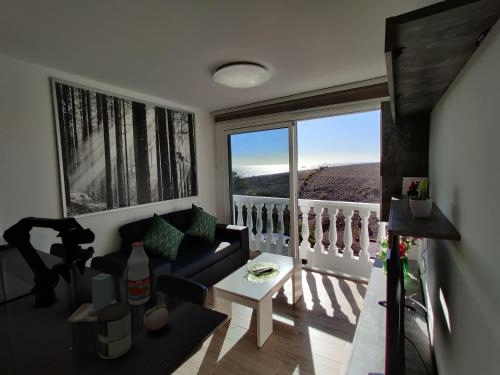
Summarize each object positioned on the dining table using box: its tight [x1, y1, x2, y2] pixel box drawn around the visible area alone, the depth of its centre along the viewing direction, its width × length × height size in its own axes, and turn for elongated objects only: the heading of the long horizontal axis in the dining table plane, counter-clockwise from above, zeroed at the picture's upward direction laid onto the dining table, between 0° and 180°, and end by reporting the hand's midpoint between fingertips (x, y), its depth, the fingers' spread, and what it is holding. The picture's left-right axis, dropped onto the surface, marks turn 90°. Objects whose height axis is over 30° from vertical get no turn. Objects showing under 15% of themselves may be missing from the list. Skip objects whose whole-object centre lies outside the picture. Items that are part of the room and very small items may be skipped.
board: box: [66, 299, 119, 323], centre depth 109 cm, size 16×12×4 cm
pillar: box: [91, 273, 113, 309], centre depth 108 cm, size 5×5×14 cm
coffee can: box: [97, 302, 132, 360], centre depth 88 cm, size 10×10×14 cm
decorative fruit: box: [143, 304, 169, 331], centre depth 98 cm, size 9×8×10 cm
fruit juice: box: [127, 241, 151, 306], centre depth 119 cm, size 9×9×28 cm
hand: (76, 278), depth 114 cm, fingers open, 9 cm apart
